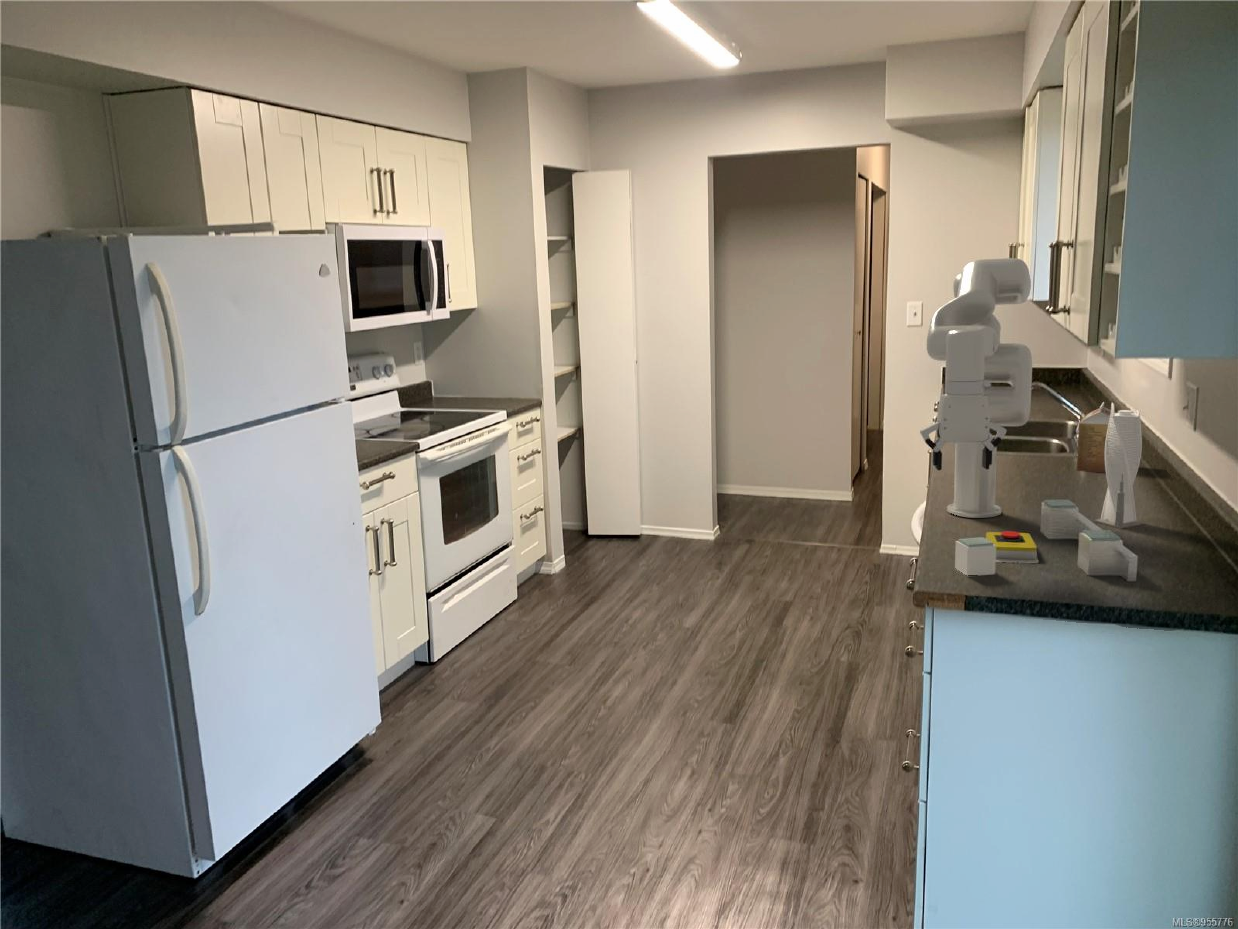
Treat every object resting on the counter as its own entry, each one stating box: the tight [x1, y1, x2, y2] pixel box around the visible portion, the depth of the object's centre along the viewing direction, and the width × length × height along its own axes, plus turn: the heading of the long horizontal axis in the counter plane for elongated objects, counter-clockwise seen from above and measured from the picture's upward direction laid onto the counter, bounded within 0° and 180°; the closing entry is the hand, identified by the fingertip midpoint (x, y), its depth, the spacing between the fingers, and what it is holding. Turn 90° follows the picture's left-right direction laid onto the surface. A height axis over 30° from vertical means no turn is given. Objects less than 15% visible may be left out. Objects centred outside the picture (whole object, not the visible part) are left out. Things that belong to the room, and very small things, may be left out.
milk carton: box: [1076, 401, 1111, 473], centre depth 265 cm, size 11×11×19 cm
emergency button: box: [985, 530, 1040, 564], centre depth 194 cm, size 9×4×15 cm
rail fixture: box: [1039, 499, 1139, 582], centre depth 192 cm, size 38×8×8 cm, turn 171°
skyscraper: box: [1093, 402, 1143, 530], centre depth 210 cm, size 8×8×28 cm
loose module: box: [954, 536, 997, 577], centre depth 183 cm, size 5×6×6 cm
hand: (961, 468), depth 192 cm, fingers open, 9 cm apart
